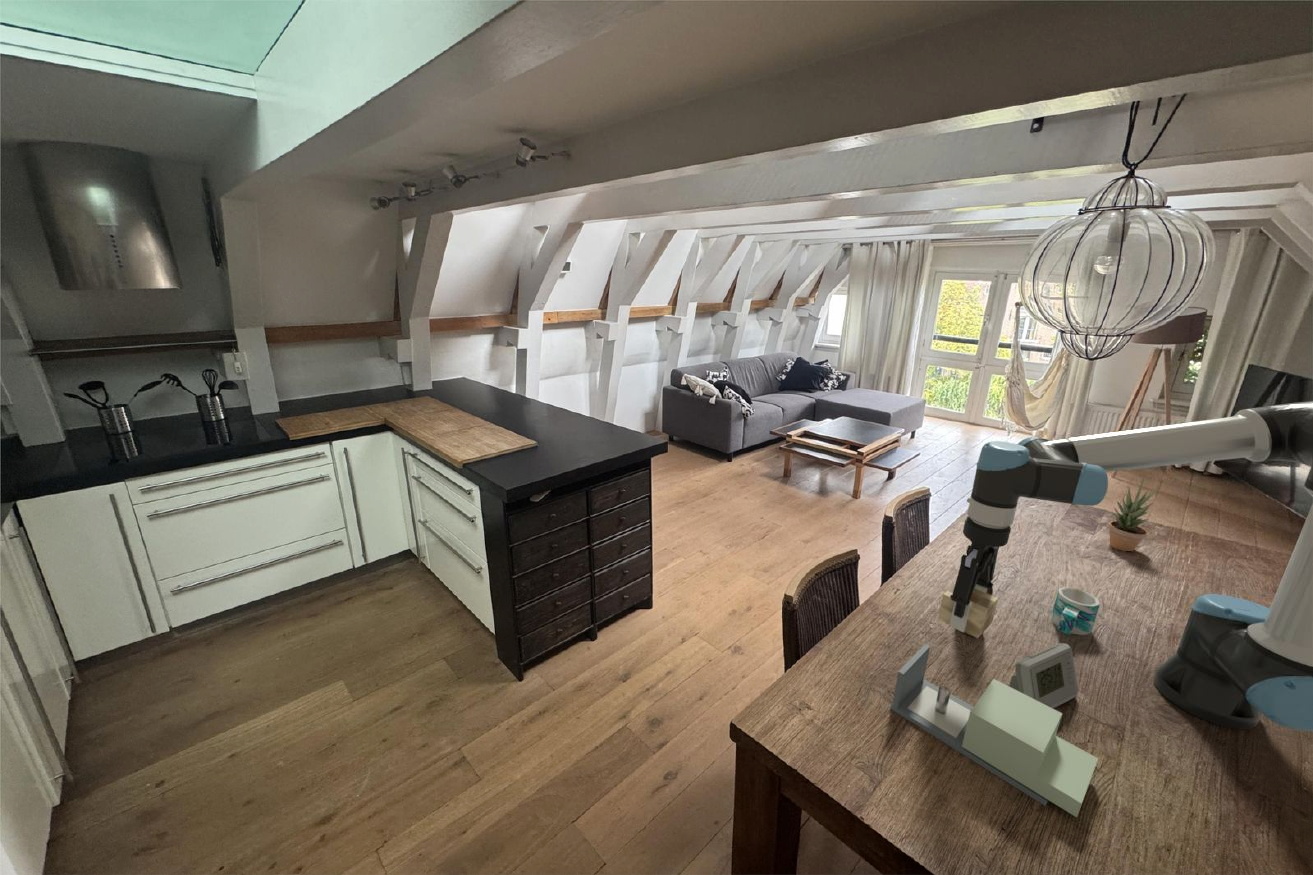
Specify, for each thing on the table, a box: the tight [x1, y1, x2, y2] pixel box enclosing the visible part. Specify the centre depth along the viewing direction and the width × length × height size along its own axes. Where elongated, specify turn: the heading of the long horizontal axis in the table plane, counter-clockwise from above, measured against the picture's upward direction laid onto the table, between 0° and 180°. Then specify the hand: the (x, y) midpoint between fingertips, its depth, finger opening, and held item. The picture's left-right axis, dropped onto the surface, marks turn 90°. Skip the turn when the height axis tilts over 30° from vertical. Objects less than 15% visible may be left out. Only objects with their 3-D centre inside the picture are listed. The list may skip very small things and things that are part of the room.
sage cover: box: [962, 678, 1099, 818], centre depth 89 cm, size 17×12×8 cm
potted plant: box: [1107, 477, 1160, 552], centre depth 164 cm, size 10×10×25 cm
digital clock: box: [1008, 642, 1079, 709], centre depth 104 cm, size 16×9×11 cm, turn 102°
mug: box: [1050, 586, 1101, 636], centre depth 126 cm, size 8×12×8 cm
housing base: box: [890, 643, 1049, 807], centre depth 95 cm, size 26×12×9 cm, turn 41°
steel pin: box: [935, 686, 952, 714], centre depth 100 cm, size 2×2×6 cm
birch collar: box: [937, 584, 999, 639], centre depth 104 cm, size 8×8×6 cm
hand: (965, 620), depth 105 cm, fingers closed on birch collar, 8 cm apart
